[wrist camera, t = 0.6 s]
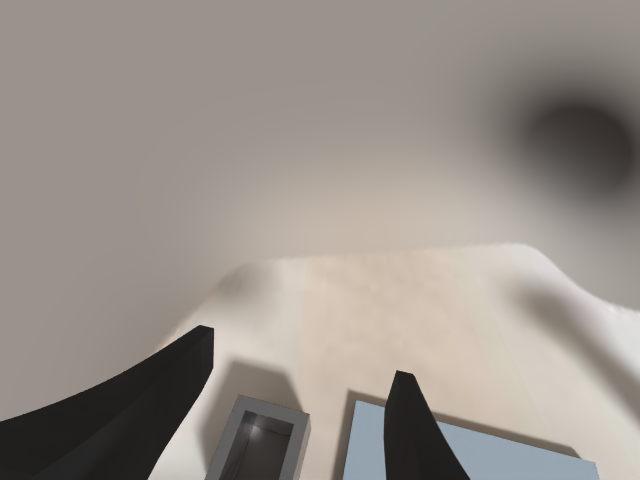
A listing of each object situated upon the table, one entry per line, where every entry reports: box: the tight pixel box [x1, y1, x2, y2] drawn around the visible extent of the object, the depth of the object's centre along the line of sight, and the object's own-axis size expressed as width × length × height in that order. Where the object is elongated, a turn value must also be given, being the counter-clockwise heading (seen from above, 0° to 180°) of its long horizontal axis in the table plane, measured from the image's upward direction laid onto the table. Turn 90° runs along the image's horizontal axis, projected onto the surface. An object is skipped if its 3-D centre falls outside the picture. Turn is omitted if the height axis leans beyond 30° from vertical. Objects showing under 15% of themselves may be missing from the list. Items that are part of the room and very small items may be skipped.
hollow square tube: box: [205, 395, 311, 480], centre depth 24 cm, size 6×6×4 cm
